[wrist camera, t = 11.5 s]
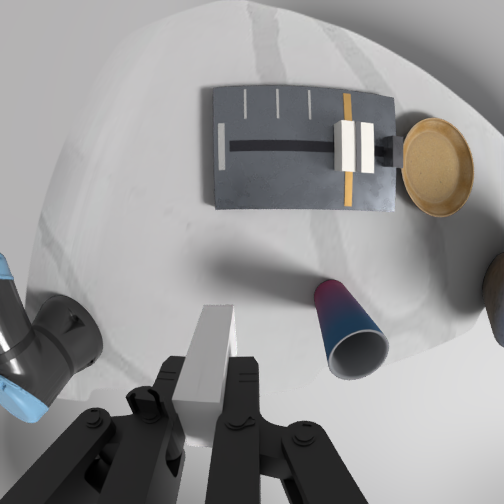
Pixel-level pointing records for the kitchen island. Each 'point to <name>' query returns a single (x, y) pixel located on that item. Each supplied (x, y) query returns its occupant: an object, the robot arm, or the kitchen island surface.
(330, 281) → the cup
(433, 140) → the plant saucer
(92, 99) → the kitchen island surface
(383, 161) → the console
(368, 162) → the fader
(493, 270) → the pitcher
